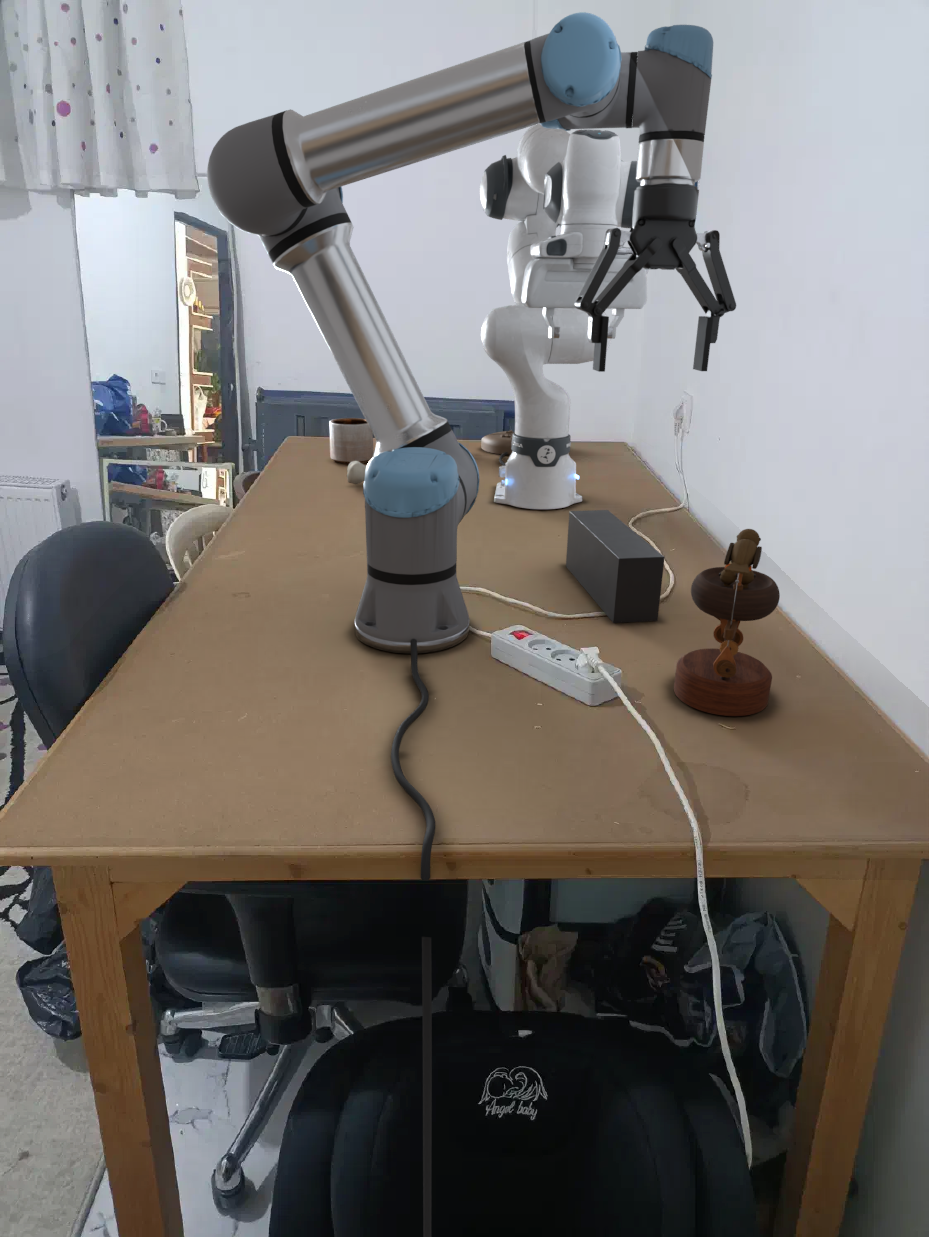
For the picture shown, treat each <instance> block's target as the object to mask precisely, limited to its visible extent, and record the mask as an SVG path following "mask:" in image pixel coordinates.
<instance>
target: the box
mask: <svg viewBox="0 0 929 1237" xmlns="http://www.w3.org/2000/svg"><path fill="white" fill-rule="evenodd" d="M565 556H566V559H565V567H566V568H567V570H568V571H569V572H570V574H572V576H573V577H574V579H576V581H578V583H579V584H580V586H582V587H583V589H584V590H585V591H586V592H587V593H588V595H589V596H590V597H591V598H592V599H593V601H594V602H595V603H596V604H597V606H599V608H600V609H601V610H602V611H603V613H604V614H605V615H606V616H607V617H608V619H610V621H611V622H612V623H613V624H620V623H621V624H622V623H623V624H624V623H640V622H641V623H642V622H658V620H659V612H660V611H659V610H660V602H661V594H662V584H663V575H664V567H665V556H664V555H663V554H662V553H661V552H660V551H658V550H657V549H656V548H655V547H654V546H652V545H651V544H650V543H648V541H646V540H645V539H644V538H642V537H641V536H640V535H639V534H637V532H635V531H634V530H633V529H632V528H631V527H629V526H628V525H627V524H625V522H623V521H622V520H621V519H620V518H619V517H617V516H616V515H615V514H614V513H613V512H611V511H610V510H609V509H591V510H587V509H586V510H585V509H584V510H569V512H568V527H567V542H566V555H565Z"/></svg>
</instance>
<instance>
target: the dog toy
mask: <svg viewBox="0 0 929 1237" xmlns="http://www.w3.org/2000/svg"><path fill="white" fill-rule="evenodd" d="M366 466H367V464H364V463H360V462H359V461H353V462H351V463H348V465H347V468H346V469H347V470H346V472H347V474H346V478H347V483H348V484H352V485H359V484H362V483H364V481H365V469H366Z"/></svg>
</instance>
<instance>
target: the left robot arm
mask: <svg viewBox="0 0 929 1237" xmlns="http://www.w3.org/2000/svg"><path fill="white" fill-rule="evenodd" d="M645 43H646V44H645V46H644V48H643V49H644V50H638V51H627V52H625V51H624V52H622V51H621V47H620V45H619V44H618V41H617V37H616V35H615V33H614V32H613V29H612V28H611V26H610V25H609V24H608V23H607V22H606V21H605V19H603V18H601V17H600V16H598V15H596V14H594V13H591V12H586V11H583V12H582V11H581V12H580V11H579V12H575V13H571V14H569V15H566V16H565V17H563V18H562V19H560V21H558V22H557V23H556V24H555V25H554V26H553V27H552V29H551V30H550V31H549V33H545V34H543V35H540V36H537V37H535V38H532V39H530V40H527V41H524V42H521V43H520V42H519V43H517V44H514V45H511V46H509V47H505V48H502V49H499V50H496V51H493V52H491V53H487V54H484V55H482V56H479V57H476V58H473V59H470V60H467V61H464V62H460V63H458V64H455V65H452V66H449V67H446V68H443V69H440V70H437V71H434V72H430V73H428V74H425V75H423V76H419V77H416V78H413V79H410V80H408V81H404V82H402V83H399V84H395V85H392V86H389V87H386V88H383V89H379V90H377V91H374V92H371V93H369V94H368V93H367V94H365V95H363V96H360V97H357V98H354V99H351V100H348V101H345V102H342V103H338V104H337V105H333V106H330V107H328V108H324V109H321V110H318V111H316V112H312V113H308V114H306V115H301V114H300V113H299V112H297V111H295V110H294V109H290V108H289V109H287V110H284V111H281V112H277V113H275V114H272V115H268V116H265V117H263V118H262V117H261V118H258V119H256V120H252V121H249V122H246V123H243V124H240V125H238V126H235V127H233V128H231V129H229V130H228V131H227V132H225V133H224V134H223V135H222V136H221V137H220V138H219V139H218V141H217V142H216V143H215V145H214V146H213V148H212V149H211V153H210V155H209V157H208V163H207V169H206V179H207V187H208V191H209V194H210V197H211V199H212V201H213V203H214V206H215V207H216V210H218V212H219V213H220V215H221V217H223V218H224V219H225V220H226V221H227V222H228V223H229V224H231V225H232V226H233V227H235V228H236V229H238V230H240V231H242V232H244V233H247V234H249V235H255V236H257V237H258V238H259V240H260V242H261V244H262V246H263V248H264V250H265V252H266V253H267V256H268V257H269V259H270V261H271V263H272V265H273V266H274V268H275V269H276V270H279V271H282V272H285V273H287V274H289V275H291V276H292V278H293V281H294V282H295V284H296V286H297V288H298V291H299V292H300V294H301V296H302V298H303V300H304V302H305V304H306V306H307V308H308V310H309V312H310V313H311V316H312V318H313V320H314V322H315V323H316V326H317V328H318V329H319V331H320V333H321V336H322V337H323V339H324V341H325V343H326V345H327V346H328V348H329V350H330V353H331V355H332V357H333V359H334V361H335V362H336V365H337V366H338V369H339V370H340V372H341V374H342V376H343V378H344V380H345V382H346V384H347V386H348V388H349V390H350V391H351V394H352V396H353V397H354V400H355V401H356V403H357V405H358V407H359V409H360V411H361V414H362V415H363V418H364V419H366V421H367V423H368V425H369V427H370V429H371V431H372V433H373V438H374V439H375V446H374V449H373V450H374V453H373V458H372V459H371V460H370V461H368V463H367V464H366V469H365V481H363V485H362V486H363V490H362V493H363V497H364V515H365V516H364V517H365V518H364V520H365V545H366V547H365V548H366V579H365V584H364V586H363V589H362V592H361V596H360V600H359V602H358V606H357V609H356V612H355V618H354V633H355V636H356V638H357V639H358V640H359V641H360V642H362V643H363V644H365V645H367V646H368V647H371V648H374V649H377V650H380V651H384V652H390V653H396V654H397V653H398V654H410V669H411V670H410V671H411V676H412V679H413V681H414V683H415V685H416V687H417V688H418V689H419V691H420V695H421V700H420V702H419V704H418V706H417V707H416V708H415V709H414V710H413V711H412V712H411V713H410V714H409V715H408V716H407V717H406V718H405V719H404V720H403V721H401V723H400V725H399V727H397V730H396V731H395V734H394V737H393V741H392V744H391V751H390V762H391V768H392V772H393V774H394V777H395V779H396V781H397V782H398V784H399V785H400V786H401V788H402V789H403V790H404V792H406V793H407V795H408V796H409V797H411V799H412V800H413V801H414V802H415V803H416V804H417V805H418V806H419V808H420V809H421V811H422V813H423V816H424V819H425V825H426V828H425V833H424V837H423V840H422V848H421V855H420V857H421V858H420V880H422V881H424V882H426V881H429V880H430V879H431V858H432V857H431V855H432V848H433V843H434V838H435V834H436V820H435V819H436V818H435V815H434V812H433V810H432V808H431V806H430V805H429V803H428V802H427V800H426V799H425V797H424V796H423V795H422V794H421V793H420V792H419V791H418V790H417V789H416V788H415V786H413V785H412V784H411V782H409V781H408V779H406V776H405V775H404V772H403V770H402V766H401V762H400V761H401V760H400V747H401V744H402V739H403V737H404V735H405V733H406V731H407V729H408V728H409V727H410V726H411V724H413V723H414V722H415V721H416V720H417V719H418V718H419V717H420V716H421V715H422V714H423V713H424V711H425V710H426V708H427V706H428V704H429V695H430V694H429V691H428V688H427V687H426V685H425V684H424V681H423V680H422V679H421V675H420V673H419V669H418V667H419V666H418V664H419V663H418V654H425V653H433V652H439V651H443V650H446V649H449V648H452V647H455V646H457V645H458V644H460V643H462V642H463V641H464V640H466V639H467V637H468V636H469V634H470V616H469V612H468V608H467V606H466V601H465V599H464V596H463V593H462V589H461V586H460V583H459V581H458V577H457V561H458V560H457V559H458V558H457V557H458V556H457V554H458V552H457V551H458V526H459V525H460V523H461V522H462V520H463V519H464V517H465V516H466V515H467V514H468V513H469V512H470V511H471V509H472V508H473V506H474V505H475V502H476V499H477V497H478V495H479V487H480V471H479V466H478V463H477V461H476V458H474V455H473V454H472V452H471V451H470V450H469V449H468V448H466V446H465V445H463V444H462V443H461V442H459V441H458V439H457V437H456V435H455V433H454V431H453V429H452V427H451V425H450V423H449V421H448V419H447V418H446V417H443V416H440V415H437V414H435V413H434V412H432V411H431V409H430V406H429V404H428V402H427V400H426V398H425V397H424V394H423V391H421V388H420V386H419V384H418V382H417V380H416V378H415V376H414V374H413V372H412V369H411V367H410V366H409V364H408V362H407V359H406V357H405V355H404V354H403V352H402V351H403V350H402V349H401V347H400V345H399V343H398V341H397V339H396V337H395V335H394V333H393V331H392V329H391V327H390V325H389V323H388V320H387V319H386V317H385V314H384V313H383V310H382V308H381V307H380V304H379V302H378V300H377V297H376V295H375V294H374V292H373V290H372V288H371V286H370V284H369V282H368V280H367V278H366V275H365V274H364V272H363V270H362V267H361V265H360V263H359V261H358V260H357V258H356V255H355V253H354V251H353V249H352V247H351V239H352V236H353V231H354V227H355V226H354V225H353V223H352V221H351V218H350V216H349V214H348V212H347V210H346V207H345V206H344V204H343V203H344V191H343V187H345V186H348V185H351V184H354V183H356V182H359V181H363V180H367V179H369V178H372V177H376V176H379V175H382V174H385V173H389V172H391V171H394V170H397V169H401V168H404V167H407V166H410V165H413V164H417V163H420V162H423V161H426V160H429V159H432V158H435V157H439V156H441V155H445V154H448V153H452V152H454V151H458V150H460V149H463V148H467V147H470V146H473V145H476V144H480V143H482V142H486V141H490V140H492V139H495V138H498V137H501V136H505V135H507V134H511V133H515V132H517V131H520V130H523V129H526V128H530V127H532V126H534V125H537V124H541V126H543V127H544V128H549V129H563V130H565V131H567V132H569V131H571V130H598V129H624V128H625V129H638V130H639V132H638V133H639V134H638V135H639V136H638V145H637V146H638V147H637V157H636V161H637V170H636V180H637V182H640V186H639V187H637V188H636V190H635V192H634V204H633V216H632V227H631V229H630V228H629V231H627V230H621V229H620V227H617V228H612V229H608V230H607V231H606V233H605V239H604V245H603V249H602V251H601V253H600V255H599V257H598V259H597V261H596V263H595V265H594V267H593V269H592V270H591V272H590V274H589V276H588V278H587V280H586V282H585V284H584V286H583V288H582V290H581V292H580V294H579V296H578V298H577V300H576V302H575V307H576V308H577V309H579V310H582V311H584V312H586V313H587V314H588V316H589V325H588V341H589V342H590V343H594V358H593V361H592V370H593V371H596V372H599V373H601V372H603V373H605V372H606V361H607V351H608V350H607V336H608V323H609V321H610V316H608V315H607V316H602V314H603V312H605V311H606V310H608V309H607V308H608V307H609V305H610V304H611V303H612V302H613V301H614V299H615V298H616V297H617V296H618V295H619V294H620V292H621V291H622V290H623V289H624V288H625V286H626V285H627V284H628V283H629V282H630V280H631V279H632V278H633V277H634V276H635V275H636V273H638V272H639V271H640V270H641V269H642V268H644V269H649V270H667V271H672V270H673V271H675V270H676V271H677V273H678V274H680V275H681V278H682V279H683V281H684V282H685V283H686V285H687V287H688V288H689V290H690V292H691V293H692V295H693V296H694V298H695V300H696V301H697V302H698V305H699V306H700V307H701V309H702V310H703V312H704V313H705V316H704V315H700V316H698V321H697V330H696V338H695V346H694V356H693V364H692V366H693V367H692V370H695V371H699V372H708V367H709V359H710V349H711V344H716V343H717V340H718V334H719V328H720V327H719V326H720V319H721V318H722V317H724V315H725V314H728V313H729V312H734V311H735V310H736V308H737V301H736V299H735V296H734V292H733V290H732V286H731V283H730V279H729V276H728V274H727V270H726V266H725V264H724V261H723V257H722V254H721V251H720V244H721V243H720V238H721V237H720V232H719V230H717V229H713V230H706V231H704V232H698V233H697V231H696V227H695V226H696V219H697V214H698V205H699V195H700V189H698V186H696V185H695V183H697V182H699V181H700V180H701V179H702V178H701V176H702V167H703V158H704V148H705V147H704V146H705V135H706V126H707V120H708V110H709V104H710V103H709V101H710V95H711V94H710V93H711V84H712V78H713V74H712V71H713V55H714V39H713V36H712V34H711V32H710V31H709V30H708V29H707V28H705V27H702V26H699V25H694V24H672V25H670V26H669V25H668V26H661V27H657V28H655V29H653V30H652V31H651V32H649V34H648V35H647V37H646V42H645ZM626 243H627V245H628V246H629V248H631V250H632V252H633V254H630V255H631V256H630V257H629V259H628V260H627V261H626V262H625V263H624V265H623V267H622V268H621V270H620V271H619V272H618V273H617V274H616V276H615V277H614V278H613V279H612V280H611V282H610V283H609V284H608V285H607V286H606V288H605V289H604V290H603V291H602V292H601V294H600V295H599V296H598V297H597V298H596V299H595V301H594V302H593V303H592V301H593V299H594V297H595V295H596V293H597V291H598V289H599V287H600V285H601V283H602V282H603V280H604V278H605V276H606V274H607V272H608V270H609V268H610V266H611V264H612V262H613V260H614V258H615V256H616V254H617V252H618V249H621V248H622V247H625V246H624V245H625V244H626ZM695 245H697V247H698V250H699V251H700V252H701V254H702V259H703V262H704V264H705V268H706V271H707V274H708V277H709V280H710V283H711V287H712V290H713V292H712V290H711V289H710V287H709V286H708V284H707V283H706V281H705V279H704V278H703V276H702V274H701V273H700V272H699V269H698V268H697V264H696V262H695V261H694V259H693V258H692V256H691V254H690V252H691V251H692V250H693V248H694V247H695ZM713 293H714V294H713ZM606 350H607V351H606ZM421 968H422V969H421V987H422V988H421V990H422V993H421V994H422V995H421V996H422V998H421V999H422V1000H421V1002H422V1003H421V1004H422V1010H421V1011H422V1197H423V1198H422V1199H423V1200H422V1208H423V1209H422V1210H423V1212H422V1213H423V1214H422V1216H423V1220H422V1223H423V1225H422V1227H423V1228H422V1229H423V1231H422V1232H423V1234H422V1235H423V1237H432V1144H433V1143H432V1130H433V1129H432V1127H433V1126H432V1125H433V1124H432V1122H433V1121H432V1120H433V1118H432V1116H433V1115H432V1114H433V1113H432V1111H433V1105H432V1104H433V1102H432V1101H433V1098H432V1096H433V1094H432V1091H433V1088H432V1087H433V1085H432V1084H433V1082H432V1080H433V1078H432V1077H433V1075H432V1072H433V1071H432V1070H433V1069H432V1068H433V1061H432V1060H433V1054H432V1053H433V1052H432V1051H433V1050H432V1049H433V1045H432V1044H433V1042H432V1041H433V1038H432V1037H433V1036H432V1035H433V1034H432V1030H433V1029H432V1028H433V1026H432V1025H433V1024H432V1022H433V1019H432V1015H433V1014H432V1012H433V1011H432V1010H433V1009H432V1008H433V1006H432V1005H433V1004H432V1001H433V1000H432V999H433V998H432V996H433V995H432V994H433V992H432V937H430V936H421Z"/></svg>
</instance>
